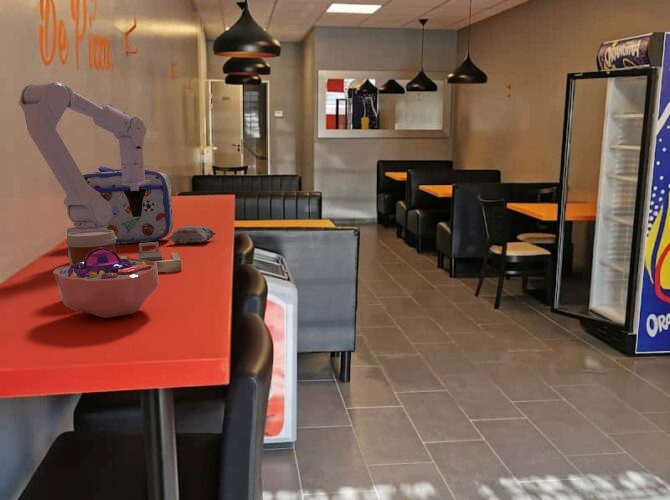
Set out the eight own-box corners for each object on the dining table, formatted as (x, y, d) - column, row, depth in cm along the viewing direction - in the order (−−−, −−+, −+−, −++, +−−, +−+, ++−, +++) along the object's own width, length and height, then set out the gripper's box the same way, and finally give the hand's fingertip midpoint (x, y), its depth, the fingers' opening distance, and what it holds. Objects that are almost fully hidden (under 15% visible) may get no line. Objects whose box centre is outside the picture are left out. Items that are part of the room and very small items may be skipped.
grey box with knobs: (136, 273, 158) (134, 249, 157) (136, 266, 167) (134, 243, 166) (166, 270, 160) (164, 247, 159) (164, 263, 168) (162, 241, 167)
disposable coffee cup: (74, 301, 133) (68, 238, 131) (68, 292, 141) (61, 232, 139) (126, 294, 137) (120, 233, 135) (116, 285, 146) (111, 227, 144)
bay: (121, 276, 155) (120, 265, 155) (121, 267, 166) (120, 256, 166) (181, 271, 159) (180, 260, 158) (178, 262, 170) (177, 252, 169)
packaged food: (206, 245, 194) (205, 228, 193) (165, 246, 196) (164, 228, 195) (217, 241, 203) (216, 224, 202) (177, 241, 205) (176, 224, 204)
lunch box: (72, 247, 199) (64, 169, 196) (84, 241, 210) (76, 167, 206) (170, 243, 200) (164, 165, 197) (177, 237, 210) (171, 163, 207)
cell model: (61, 336, 110) (53, 264, 108) (55, 308, 128) (49, 247, 126) (171, 321, 116) (165, 253, 114) (151, 297, 134) (146, 238, 133)
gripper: (149, 164, 178) (153, 218, 180) (147, 162, 191) (151, 212, 194) (120, 166, 176) (124, 220, 178) (120, 163, 189) (124, 214, 192)
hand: (136, 216), depth 186 cm, fingers closed
